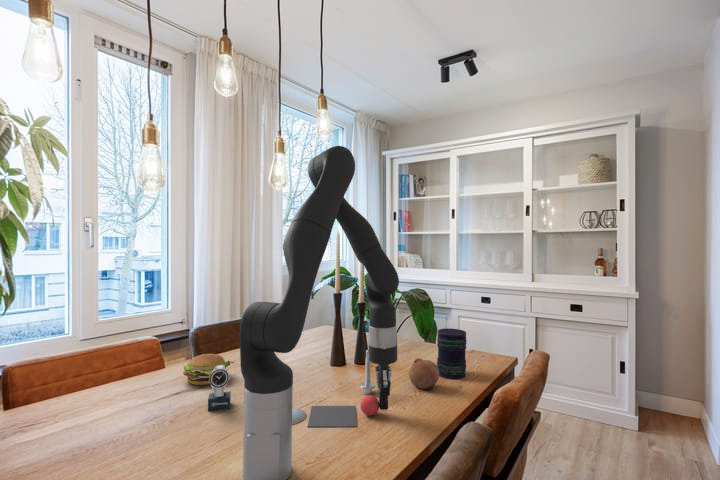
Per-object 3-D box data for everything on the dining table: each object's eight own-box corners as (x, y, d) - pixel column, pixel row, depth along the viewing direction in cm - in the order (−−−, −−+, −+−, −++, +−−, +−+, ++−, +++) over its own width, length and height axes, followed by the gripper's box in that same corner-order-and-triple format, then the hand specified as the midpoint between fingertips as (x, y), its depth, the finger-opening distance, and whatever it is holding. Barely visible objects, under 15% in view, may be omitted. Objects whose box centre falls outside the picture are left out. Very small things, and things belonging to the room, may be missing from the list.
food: (173, 386, 121) (173, 360, 121) (198, 371, 135) (198, 348, 135) (214, 389, 119) (215, 363, 119) (235, 374, 133) (236, 350, 133)
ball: (381, 398, 101) (362, 395, 101) (378, 419, 100) (359, 416, 100) (379, 395, 106) (361, 392, 106) (377, 414, 104) (358, 411, 105)
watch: (207, 414, 101) (207, 372, 102) (210, 402, 109) (210, 362, 109) (229, 412, 103) (230, 370, 103) (231, 400, 111) (231, 361, 111)
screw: (356, 393, 117) (364, 388, 121) (370, 396, 114) (378, 391, 119) (357, 350, 117) (365, 346, 121) (371, 352, 114) (379, 348, 119)
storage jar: (472, 377, 132) (472, 333, 132) (447, 381, 128) (448, 335, 129) (454, 368, 141) (455, 327, 141) (431, 371, 138) (431, 329, 138)
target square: (356, 427, 96) (356, 426, 96) (307, 427, 95) (307, 426, 95) (355, 406, 108) (355, 405, 108) (311, 406, 107) (311, 405, 107)
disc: (303, 425, 96) (303, 424, 96) (263, 425, 96) (263, 424, 96) (307, 408, 106) (307, 407, 106) (270, 408, 106) (270, 407, 106)
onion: (411, 395, 123) (398, 365, 126) (434, 383, 128) (421, 354, 130) (426, 395, 115) (412, 362, 117) (450, 382, 119) (436, 350, 122)
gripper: (367, 336, 109) (368, 398, 109) (370, 350, 95) (371, 420, 95) (394, 336, 109) (394, 397, 109) (400, 349, 96) (401, 419, 96)
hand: (383, 408), depth 102 cm, fingers closed
